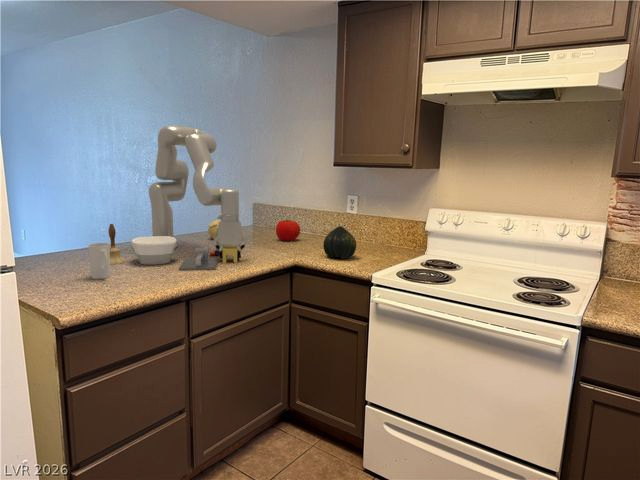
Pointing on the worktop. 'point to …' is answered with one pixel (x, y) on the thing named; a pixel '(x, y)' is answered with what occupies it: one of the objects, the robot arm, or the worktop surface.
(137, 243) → the bowl
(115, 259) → the hand bell
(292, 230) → the tomato
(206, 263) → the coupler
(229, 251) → the notched yellow block
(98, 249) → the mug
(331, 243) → the squash
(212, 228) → the sculpture
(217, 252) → the tow hook
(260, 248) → the worktop surface
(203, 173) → the robot arm
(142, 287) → the worktop surface
